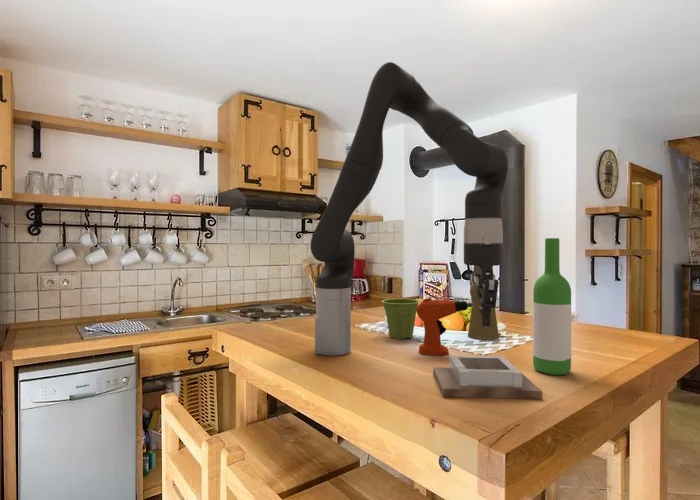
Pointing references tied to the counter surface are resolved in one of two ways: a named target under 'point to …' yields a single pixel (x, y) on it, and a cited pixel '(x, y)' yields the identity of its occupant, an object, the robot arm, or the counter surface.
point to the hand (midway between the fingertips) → (482, 326)
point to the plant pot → (400, 317)
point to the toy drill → (436, 323)
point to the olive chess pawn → (481, 320)
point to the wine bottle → (552, 316)
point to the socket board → (452, 388)
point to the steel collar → (485, 372)
